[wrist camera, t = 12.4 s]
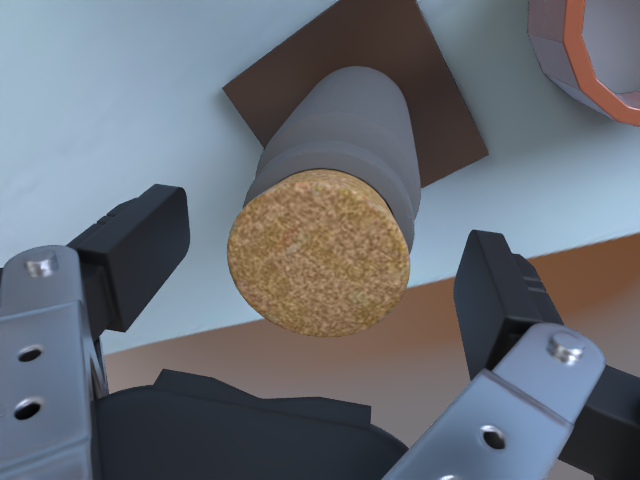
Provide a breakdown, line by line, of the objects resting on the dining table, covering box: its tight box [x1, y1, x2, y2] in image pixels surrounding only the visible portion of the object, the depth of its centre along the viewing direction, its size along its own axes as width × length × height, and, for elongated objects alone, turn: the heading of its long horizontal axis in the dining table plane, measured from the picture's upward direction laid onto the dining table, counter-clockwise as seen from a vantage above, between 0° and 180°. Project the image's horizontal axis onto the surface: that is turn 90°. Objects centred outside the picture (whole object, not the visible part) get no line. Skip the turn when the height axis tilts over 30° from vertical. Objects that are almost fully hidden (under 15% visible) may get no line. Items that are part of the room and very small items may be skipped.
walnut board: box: [222, 0, 489, 188], centre depth 24 cm, size 11×11×1 cm
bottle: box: [227, 66, 421, 337], centre depth 17 cm, size 6×6×15 cm
